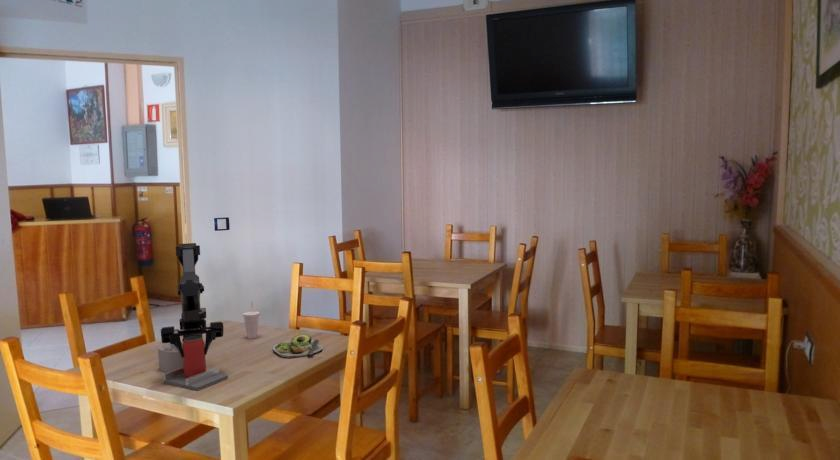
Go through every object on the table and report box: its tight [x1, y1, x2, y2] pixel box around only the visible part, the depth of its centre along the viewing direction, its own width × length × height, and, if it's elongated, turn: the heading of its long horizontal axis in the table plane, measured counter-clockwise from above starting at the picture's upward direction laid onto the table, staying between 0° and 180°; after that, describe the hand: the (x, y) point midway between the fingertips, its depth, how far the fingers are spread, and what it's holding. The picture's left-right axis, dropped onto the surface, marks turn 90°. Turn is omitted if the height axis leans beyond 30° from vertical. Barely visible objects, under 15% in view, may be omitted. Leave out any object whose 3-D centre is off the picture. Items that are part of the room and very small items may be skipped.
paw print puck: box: [157, 341, 184, 373], centre depth 206 cm, size 10×13×9 cm
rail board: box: [162, 366, 229, 392], centre depth 193 cm, size 12×15×3 cm
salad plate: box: [272, 333, 323, 359], centre depth 223 cm, size 19×18×5 cm
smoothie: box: [242, 301, 261, 339], centre depth 242 cm, size 6×6×14 cm
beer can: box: [182, 335, 207, 377], centre depth 195 cm, size 7×7×12 cm
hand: (194, 355), depth 193 cm, fingers closed on beer can, 6 cm apart
